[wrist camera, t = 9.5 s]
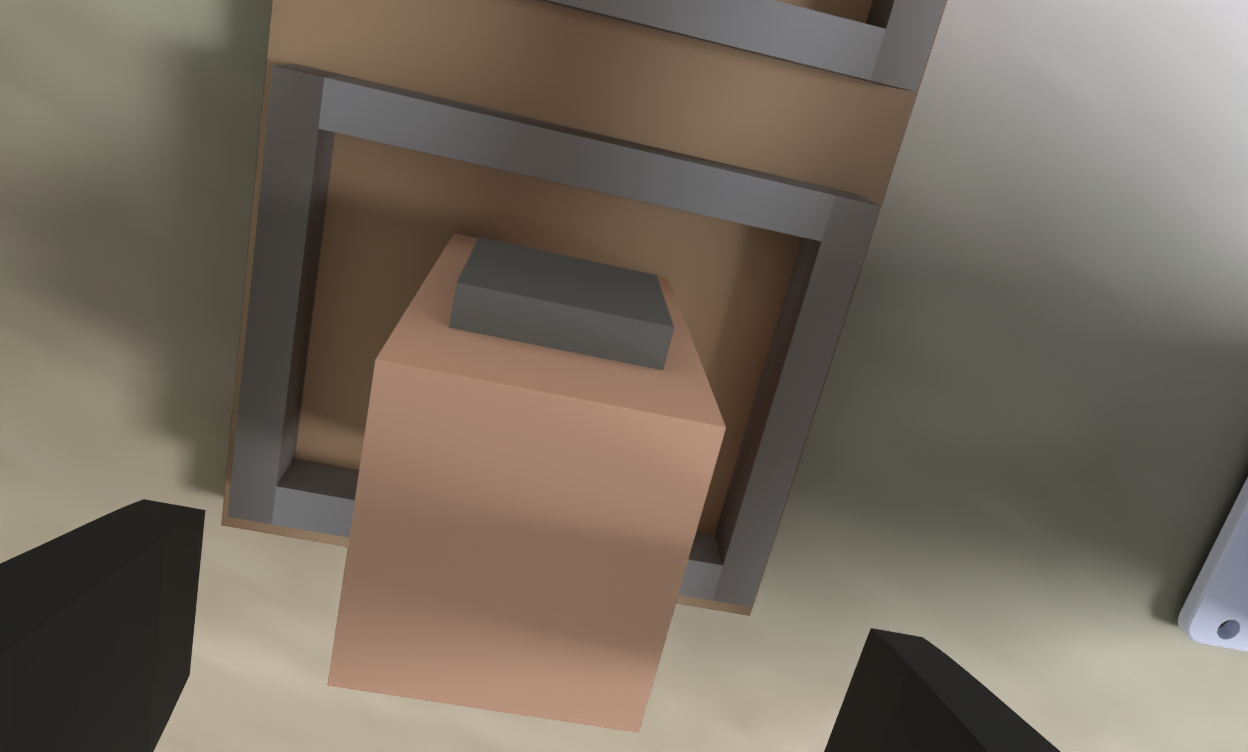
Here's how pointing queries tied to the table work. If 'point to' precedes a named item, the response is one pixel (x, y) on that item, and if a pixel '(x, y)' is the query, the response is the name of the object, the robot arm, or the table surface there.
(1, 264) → the table surface
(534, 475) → the pinkish brown block
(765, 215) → the brown flat tray
